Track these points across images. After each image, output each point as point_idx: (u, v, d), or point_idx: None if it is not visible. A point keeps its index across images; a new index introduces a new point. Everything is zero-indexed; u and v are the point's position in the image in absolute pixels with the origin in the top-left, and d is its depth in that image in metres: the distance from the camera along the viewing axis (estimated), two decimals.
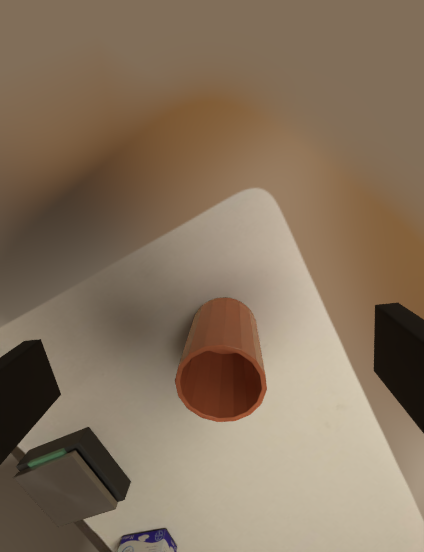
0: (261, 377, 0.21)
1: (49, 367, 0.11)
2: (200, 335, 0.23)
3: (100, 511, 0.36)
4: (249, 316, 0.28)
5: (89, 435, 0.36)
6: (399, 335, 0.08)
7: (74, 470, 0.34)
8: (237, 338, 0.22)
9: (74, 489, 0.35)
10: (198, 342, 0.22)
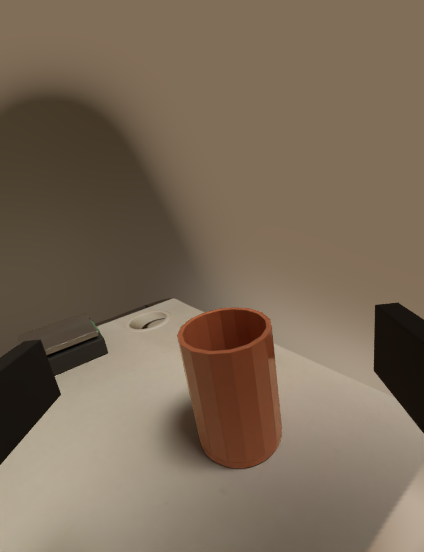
0: (245, 345, 0.18)
1: (49, 367, 0.11)
2: None
3: None
4: (275, 423, 0.21)
5: (101, 351, 0.39)
6: (399, 336, 0.08)
7: (80, 333, 0.39)
8: None
9: (58, 336, 0.39)
10: None
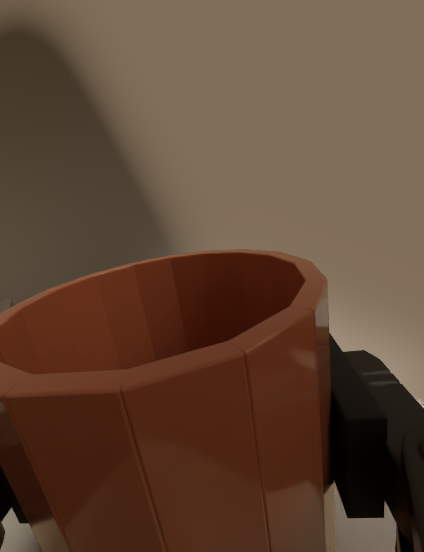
0: (216, 345, 0.03)
1: None
2: None
3: None
4: None
5: None
6: None
7: None
8: None
9: None
10: None
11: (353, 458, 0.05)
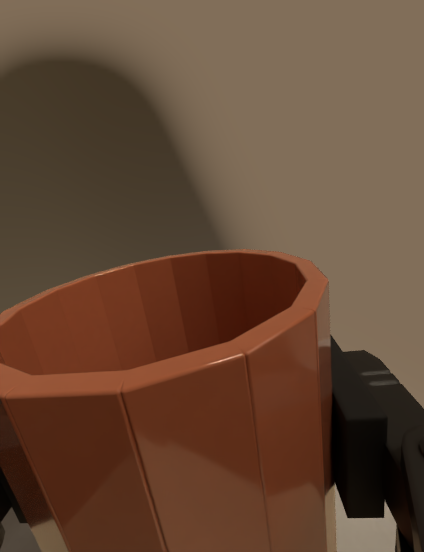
0: (217, 346, 0.03)
1: None
2: None
3: None
4: None
5: None
6: None
7: None
8: None
9: None
10: None
11: (353, 458, 0.05)
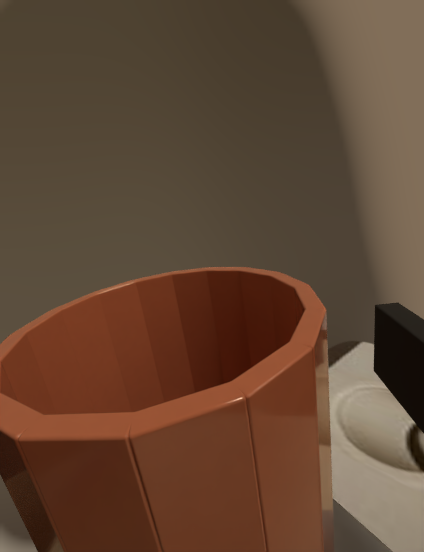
0: (219, 387, 0.04)
1: None
2: None
3: None
4: None
5: None
6: (399, 335, 0.08)
7: None
8: None
9: None
10: None
11: None
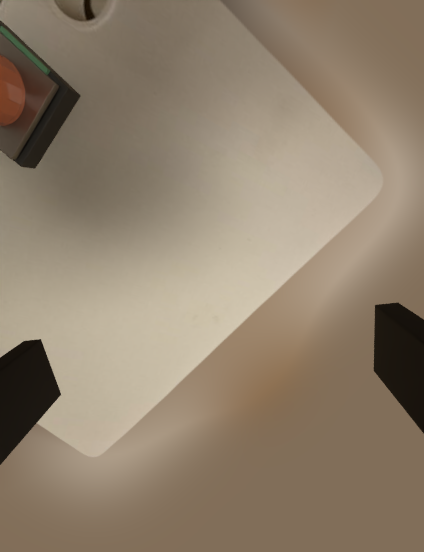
0: None
1: (49, 367, 0.11)
2: None
3: None
4: (7, 97, 0.27)
5: (73, 99, 0.32)
6: (399, 335, 0.08)
7: (36, 92, 0.29)
8: None
9: None
10: None
11: None
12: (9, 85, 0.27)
